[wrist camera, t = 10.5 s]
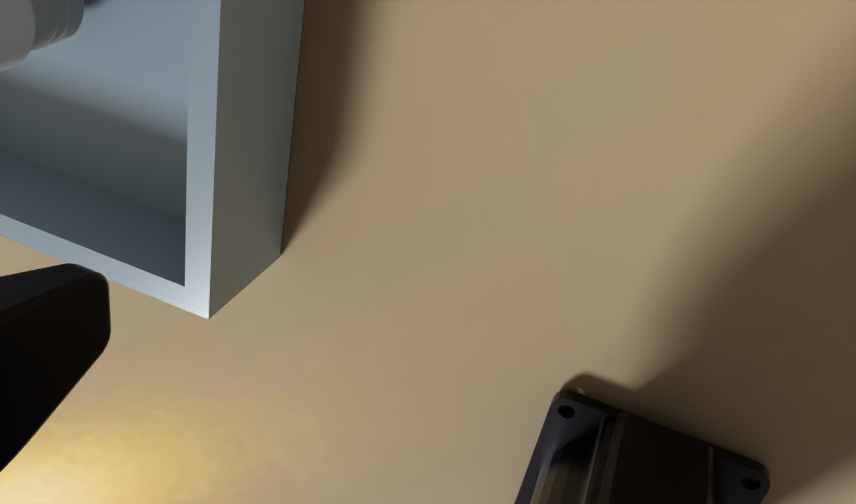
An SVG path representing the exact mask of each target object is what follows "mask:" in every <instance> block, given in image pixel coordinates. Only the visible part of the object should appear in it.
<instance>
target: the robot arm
mask: <svg viewBox="0 0 856 504" xmlns="http://www.w3.org/2000/svg"><path fill="white" fill-rule="evenodd" d="M110 334H111V319H110V299H109V285H108V282H107V280H106V278H105V276H103V275H102V274H101V273H99V272H96V271H94V270H91V269H89V268H86V267H84V266H81V265H79V264H74V263H67V264H61V265H56V266H51V267H46V268H41V269H36V270H31V271H26V272H21V273H16V274H11V275H6V276H1V277H0V472H1V471H2V470H3V469H4V468H5V467H6V466H7V465H8V464H9V463H10V462H11V461H12V460H13V458H14V457H15V456H16V455H17V454H18V453H19V452H20V451H21V450H22V449H23V447H24V446H25V445H26V444H27V443H28V442H29V441H30V439H31V438H32V437H33V436H34V435H35V434H36V432H37V431H38V430H39V429H40V428H41V426H42V425H43V424H44V423H45V422H46V420H47V419H48V418H49V417H50V416H51V414H52V413H53V412H54V411H55V409H56V408H57V407H58V406H59V405H60V403H61V402H62V401H63V400H64V399H65V397H66V396H67V395H68V394H69V393H70V391H71V390H72V389H73V388H74V387H75V385H76V384H77V383H78V382H79V381H80V379H81V378H82V377H83V376H84V375H85V373H86V372H87V371H88V370H89V369H90V367H91V366H92V365H93V364H94V363H95V361H96V360H97V359H98V358H99V356H100V355H101V354H102V353H103V351H104V350H105V348H106V346H107V344H108V341H109V339H110ZM562 405H569V406H570V407H572V408H573V409H574V410H572V411H570V410H566V409H564V408H563V407H562ZM748 476H752V477H755V478H757V480H753V481H751V480H747V479H745V478H744V477H748ZM769 488H770V475H769V471H768V469H767V468H766V467H765V466H764V465H763V464H761V463H759V462H757V461H754V460H752V459H749V458H747V457H744V456H741V455H739V454H736V453H733V452H731V451H728V450H726V449H723V448H720V447H718V446H715V445H712V444H710V443H707V442H705V441H702V440H699V439H697V438H694V437H692V436H689V435H686V434H684V433H681V432H678V431H676V430H673V429H671V428H668V427H665V426H663V425H660V424H657V423H655V422H652V421H650V420H647V419H644V418H642V417H639V416H636V415H634V414H631V413H628V412H626V411H623V410H620V409H618V408H615V407H612V406H610V405H607V404H605V403H602V402H599V401H597V400H594V399H591V398H589V397H586V396H584V395H581V394H578V393H576V392H573V391H568V390H565V391H560V392H558V393H556V395H555V396H554V397H553V400H552V403H551V405H550V408H549V411H548V413H547V416H546V419H545V422H544V424H543V427H542V430H541V433H540V435H539V438H538V441H537V444H536V446H535V449H534V452H533V455H532V457H531V460H530V463H529V465H528V468H527V471H526V474H525V476H524V479H523V482H522V485H521V487H520V490H519V493H518V496H517V498H516V501H515V504H760V503H761V502H762V500H763V499H764V497H765V495H766V494H767V492H768V491H769Z"/></svg>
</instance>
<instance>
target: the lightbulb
mask: <svg viewBox="0 0 856 504" xmlns="http://www.w3.org/2000/svg"><path fill="white" fill-rule="evenodd" d="M83 14H84V0H0V72H1V71H3V70H6V69H8V68H11V67H14V66H16V65H17V64H19V63H20V62H21V61H22V60H24V59H25V58H26V57H27V55H28V54H29V52H30V51H33V50H39V49H42V48H45V47H46V46H50V45H53V44H56V43H58V42H59V41H61V40H64V39H67V38H69V37H71V36H72V35H74V34H75V33H76V31H77V30H78V29H79V27H80V24H81V22H82V19H83Z"/></svg>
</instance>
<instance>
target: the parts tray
mask: <svg viewBox="0 0 856 504" xmlns="http://www.w3.org/2000/svg"><path fill="white" fill-rule="evenodd" d="M304 1H305V0H84V14H83V19H82V22H81V24H80V27H79V29H78V30H77V31H76V33H75V34H74V35H72V36H71V37H69V38H67V39H64V40H61V41H59V42H58V43H56V44H53V45H50V46H46V47H45V48H42V49H39V50H33V51H30V52H29V54H28V55H27V57H26V58H25V59H24V60H22V61H21V62H20V63H19V64H17V65H16V66H14V67H11V68H8V69H6V70H3V71H1V72H0V236H2V237H5V238H7V239H10V240H12V241H15V242H17V243H20V244H22V245H25V246H27V247H30V248H32V249H35V250H37V251H40V252H42V253H45V254H47V255H50V256H52V257H55V258H57V259H60V260H62V261H65V262H67V263H74V264H79V265H81V266H84V267H86V268H89V269H91V270H94V271H96V272H99V273H101V274H102V275H103V276H105V278H107V279H109V280H112V281H114V282H117V283H119V284H122V285H124V286H127V287H129V288H132V289H134V290H137V291H139V292H142V293H144V294H147V295H149V296H152V297H154V298H157V299H159V300H162V301H164V302H167V303H169V304H172V305H174V306H177V307H179V308H182V309H184V310H187V311H189V312H192V313H194V314H197V315H199V316H202V317H204V318H207V319H210V318H211V317H212V316H213V315H214V314H215V313H216V312H218V311H219V310H220V309H221V308H222V307H223V306H224V305H226V304H227V303H228V302H229V301H230V300H231V299H232V298H234V297H235V296H236V295H237V294H238V293H239V292H240V291H241V290H243V289H244V288H245V287H246V286H247V285H248V284H249V283H251V282H252V281H253V280H254V279H255V278H256V277H257V276H259V275H260V274H261V273H262V272H263V271H264V270H265V269H267V268H268V267H269V266H270V265H271V264H272V263H273V262H275V261H276V260H277V259H278V258H279V257H280V253H281V242H282V232H283V221H284V211H285V201H286V190H287V180H288V169H289V159H290V148H291V138H292V127H293V117H294V106H295V96H296V85H297V75H298V64H299V54H300V43H301V33H302V22H303V12H304Z"/></svg>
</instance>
